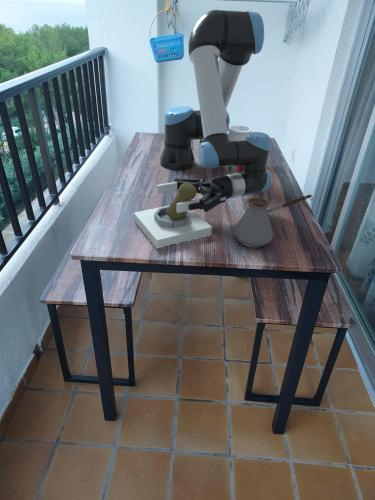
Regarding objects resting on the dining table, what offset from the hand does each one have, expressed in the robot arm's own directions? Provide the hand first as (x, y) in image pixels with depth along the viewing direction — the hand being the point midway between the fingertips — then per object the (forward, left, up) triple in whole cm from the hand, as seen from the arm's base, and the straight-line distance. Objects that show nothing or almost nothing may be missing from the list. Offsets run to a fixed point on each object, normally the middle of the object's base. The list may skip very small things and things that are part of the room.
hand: (166, 198), depth 106 cm
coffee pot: (+19, +25, -11) cm, 33 cm away
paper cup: (-18, +42, -11) cm, 47 cm away
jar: (-42, +55, -11) cm, 70 cm away
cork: (+1, +2, -5) cm, 6 cm away
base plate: (0, +2, -10) cm, 11 cm away
